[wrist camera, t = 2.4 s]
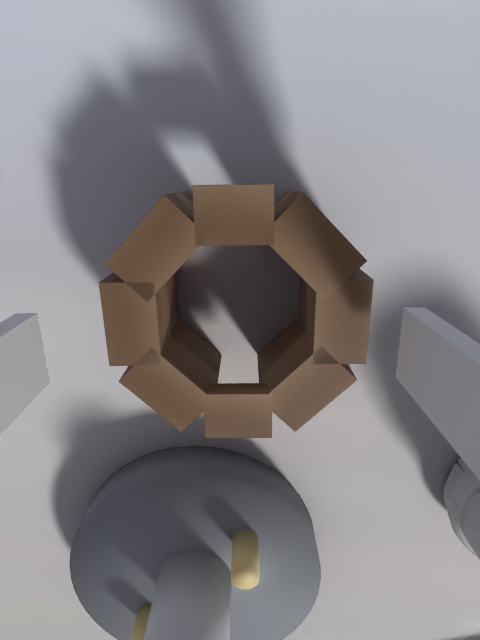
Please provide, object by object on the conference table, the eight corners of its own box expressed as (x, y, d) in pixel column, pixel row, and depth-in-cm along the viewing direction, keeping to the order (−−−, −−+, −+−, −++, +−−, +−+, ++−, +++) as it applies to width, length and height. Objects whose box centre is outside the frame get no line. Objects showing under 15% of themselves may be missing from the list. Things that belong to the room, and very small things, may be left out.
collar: (124, 185, 20) (86, 187, 15) (349, 182, 20) (382, 182, 15) (144, 385, 23) (118, 438, 19) (336, 384, 23) (358, 437, 18)
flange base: (191, 400, 24) (164, 505, 16) (361, 543, 27) (407, 686, 19) (39, 543, 27) (-41, 683, 20) (206, 653, 30) (193, 810, 23)
